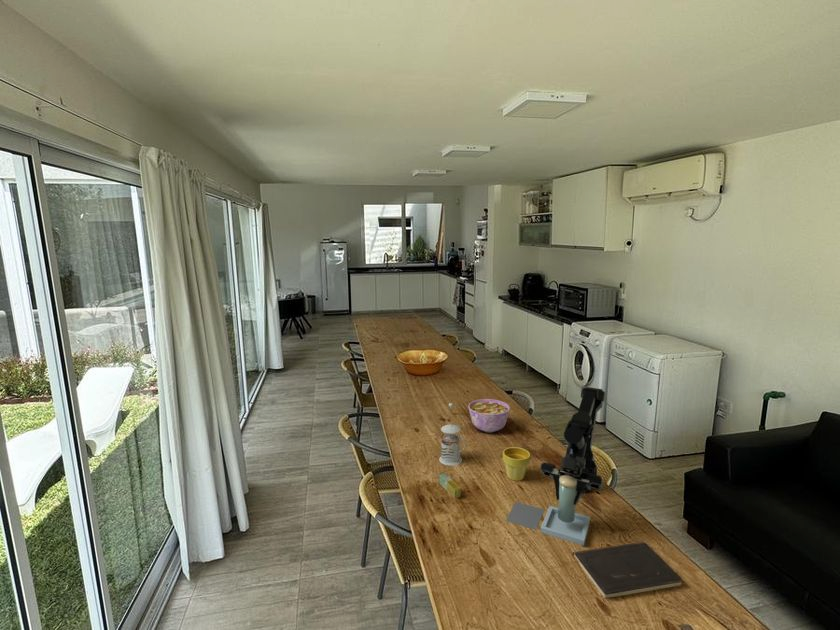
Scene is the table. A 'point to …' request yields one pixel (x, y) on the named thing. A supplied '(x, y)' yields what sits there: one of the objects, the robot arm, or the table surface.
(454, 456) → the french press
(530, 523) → the mat
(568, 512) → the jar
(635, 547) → the hardcover book
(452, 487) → the medication box
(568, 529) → the dish
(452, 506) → the table surface
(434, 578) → the table surface
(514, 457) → the plant pot
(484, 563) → the table surface
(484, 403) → the bowl of food
